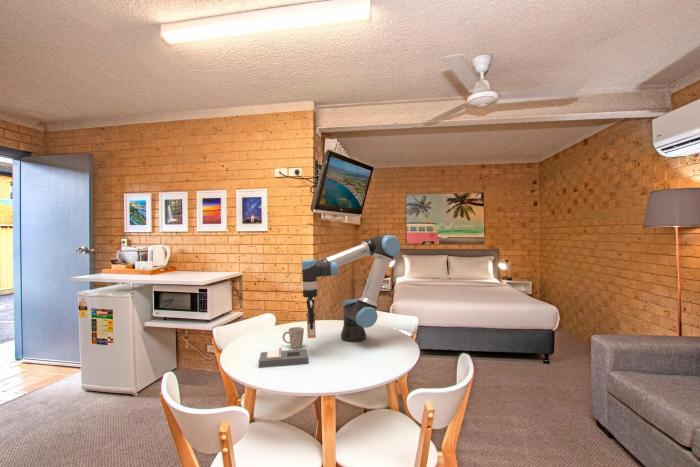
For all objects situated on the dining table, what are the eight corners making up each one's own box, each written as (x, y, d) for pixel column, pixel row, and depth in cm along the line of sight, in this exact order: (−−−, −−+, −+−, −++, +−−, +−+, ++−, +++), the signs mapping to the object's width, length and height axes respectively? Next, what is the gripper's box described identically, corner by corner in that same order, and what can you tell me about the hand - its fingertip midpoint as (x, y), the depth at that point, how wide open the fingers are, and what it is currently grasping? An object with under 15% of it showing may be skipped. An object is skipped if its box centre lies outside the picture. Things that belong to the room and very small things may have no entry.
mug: (300, 350, 175) (300, 331, 175) (279, 348, 178) (279, 330, 178) (306, 345, 183) (305, 327, 183) (285, 343, 186) (285, 326, 186)
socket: (306, 354, 168) (306, 348, 168) (308, 363, 156) (308, 357, 156) (261, 358, 164) (260, 352, 164) (258, 367, 152) (258, 361, 152)
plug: (315, 335, 173) (314, 312, 173) (316, 337, 169) (315, 314, 169) (307, 335, 172) (306, 313, 172) (307, 338, 168) (306, 315, 168)
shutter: (281, 351, 164) (281, 342, 164) (281, 357, 155) (281, 348, 155) (267, 352, 163) (267, 343, 163) (266, 359, 154) (266, 349, 154)
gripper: (302, 287, 178) (303, 329, 178) (303, 292, 162) (305, 339, 161) (315, 286, 180) (317, 328, 180) (318, 291, 163) (320, 337, 163)
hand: (311, 333), depth 171 cm, fingers closed on plug, 4 cm apart
